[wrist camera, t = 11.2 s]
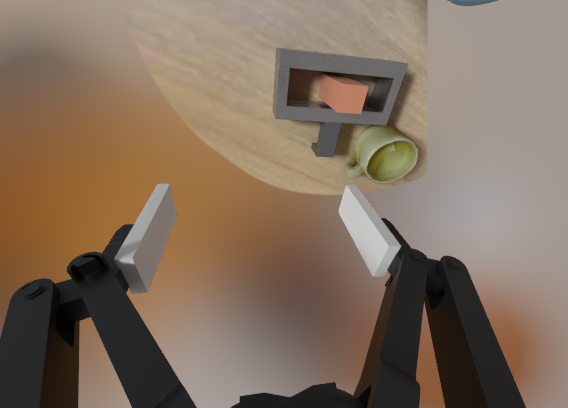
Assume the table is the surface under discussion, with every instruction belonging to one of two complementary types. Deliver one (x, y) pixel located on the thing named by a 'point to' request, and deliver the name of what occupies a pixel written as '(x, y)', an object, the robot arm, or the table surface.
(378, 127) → the mug
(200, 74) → the table surface
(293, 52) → the hollow metal rectangle ring
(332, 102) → the terracotta clay brick
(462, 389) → the robot arm
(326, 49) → the table surface
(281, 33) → the table surface
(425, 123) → the table surface
